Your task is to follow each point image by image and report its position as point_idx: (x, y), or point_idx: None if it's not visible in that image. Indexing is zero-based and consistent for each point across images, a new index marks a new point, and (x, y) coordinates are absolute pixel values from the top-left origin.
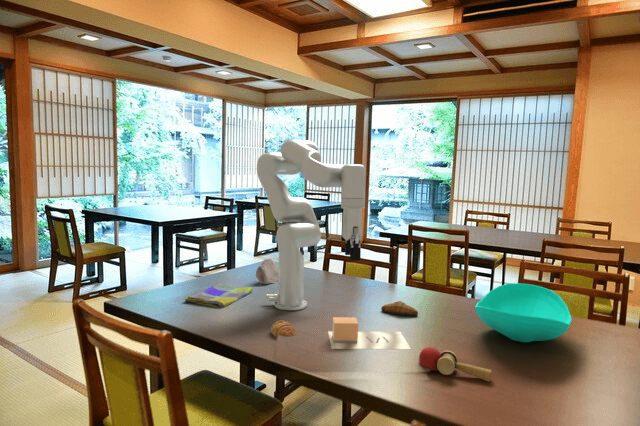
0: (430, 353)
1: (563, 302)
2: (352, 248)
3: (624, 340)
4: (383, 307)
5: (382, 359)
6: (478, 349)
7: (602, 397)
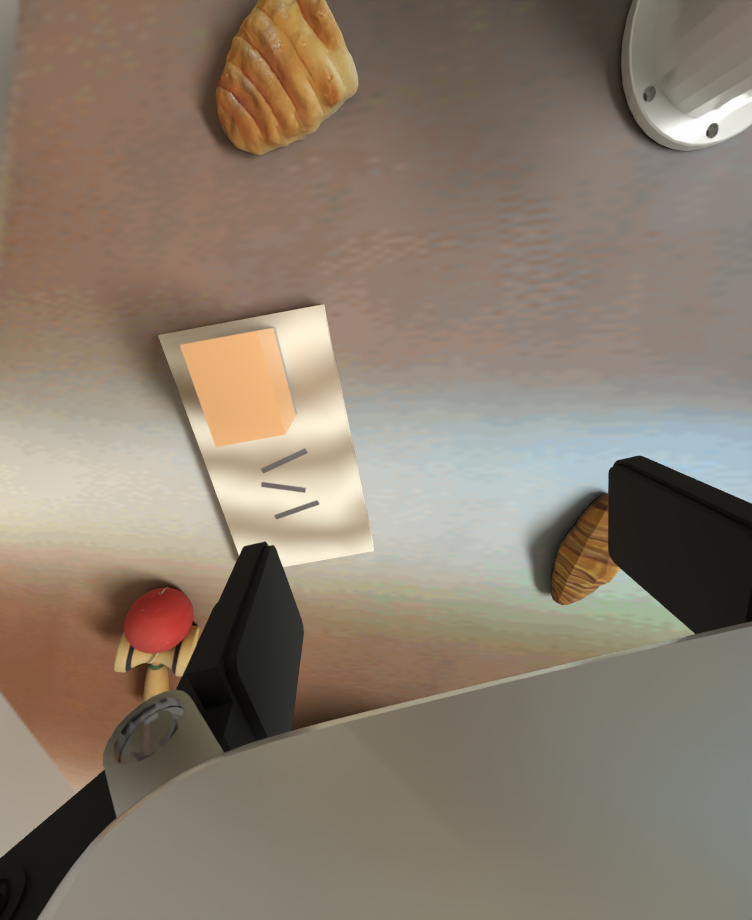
0: (126, 635)
1: None
2: (204, 690)
3: None
4: (605, 505)
5: (186, 493)
6: (326, 698)
7: None
